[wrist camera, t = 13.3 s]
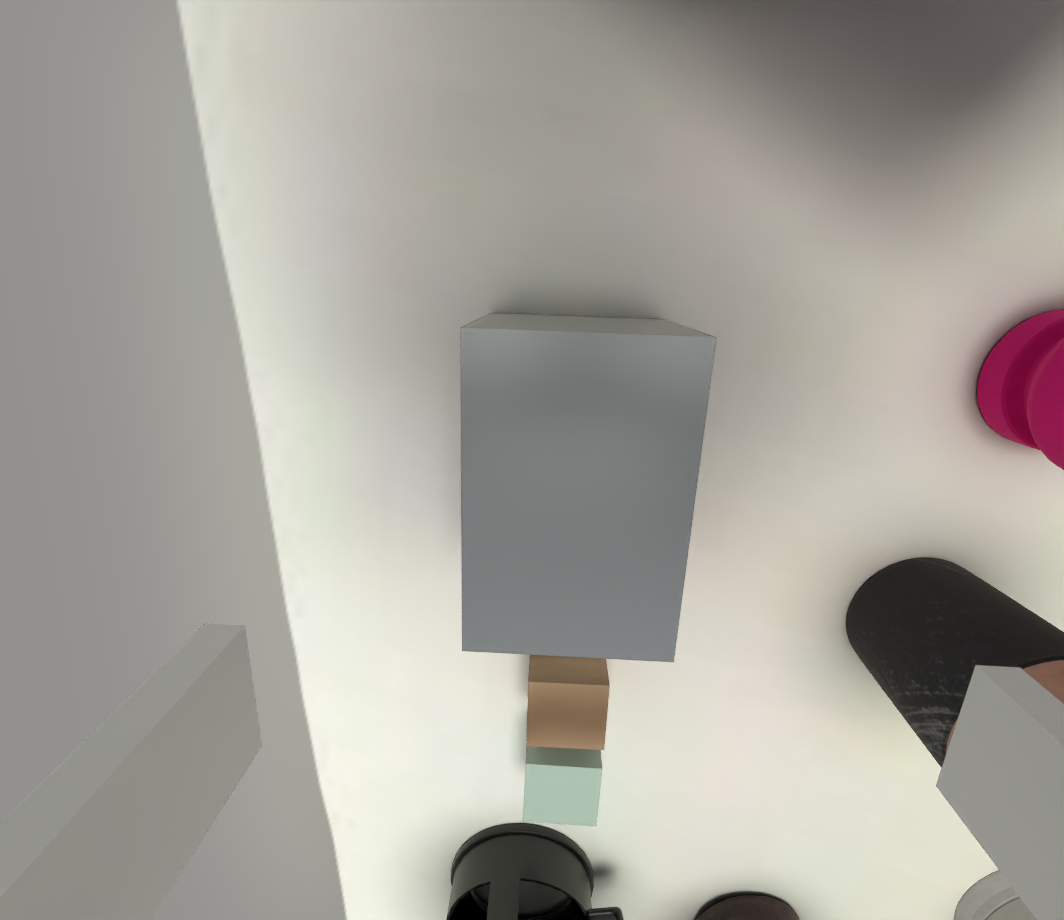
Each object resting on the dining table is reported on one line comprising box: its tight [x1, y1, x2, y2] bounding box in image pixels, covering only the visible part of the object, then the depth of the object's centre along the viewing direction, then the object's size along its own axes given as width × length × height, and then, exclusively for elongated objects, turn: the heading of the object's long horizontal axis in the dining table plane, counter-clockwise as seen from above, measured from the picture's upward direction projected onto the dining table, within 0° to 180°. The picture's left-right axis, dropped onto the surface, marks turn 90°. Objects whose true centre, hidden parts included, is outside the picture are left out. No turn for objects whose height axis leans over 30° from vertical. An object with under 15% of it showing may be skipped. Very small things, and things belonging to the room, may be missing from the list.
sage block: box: [523, 746, 602, 826], centre depth 32 cm, size 4×4×4 cm
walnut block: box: [526, 655, 609, 750], centre depth 30 cm, size 4×4×4 cm
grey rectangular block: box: [461, 313, 716, 662], centre depth 24 cm, size 12×8×9 cm, turn 178°
